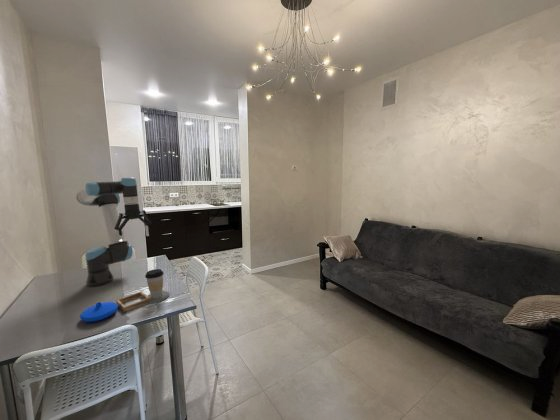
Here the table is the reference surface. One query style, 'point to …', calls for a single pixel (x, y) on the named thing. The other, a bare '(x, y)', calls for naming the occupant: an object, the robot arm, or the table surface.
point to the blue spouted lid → (99, 311)
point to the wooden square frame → (135, 305)
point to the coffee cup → (155, 283)
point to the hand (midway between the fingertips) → (135, 238)
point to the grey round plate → (164, 297)
